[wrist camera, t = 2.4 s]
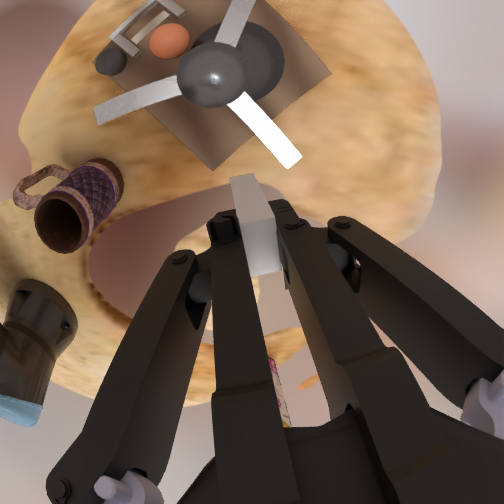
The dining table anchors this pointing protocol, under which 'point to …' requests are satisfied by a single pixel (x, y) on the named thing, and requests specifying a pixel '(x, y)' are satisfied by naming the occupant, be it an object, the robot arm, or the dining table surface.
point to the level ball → (169, 41)
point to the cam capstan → (221, 78)
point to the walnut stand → (195, 22)
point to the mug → (72, 202)
